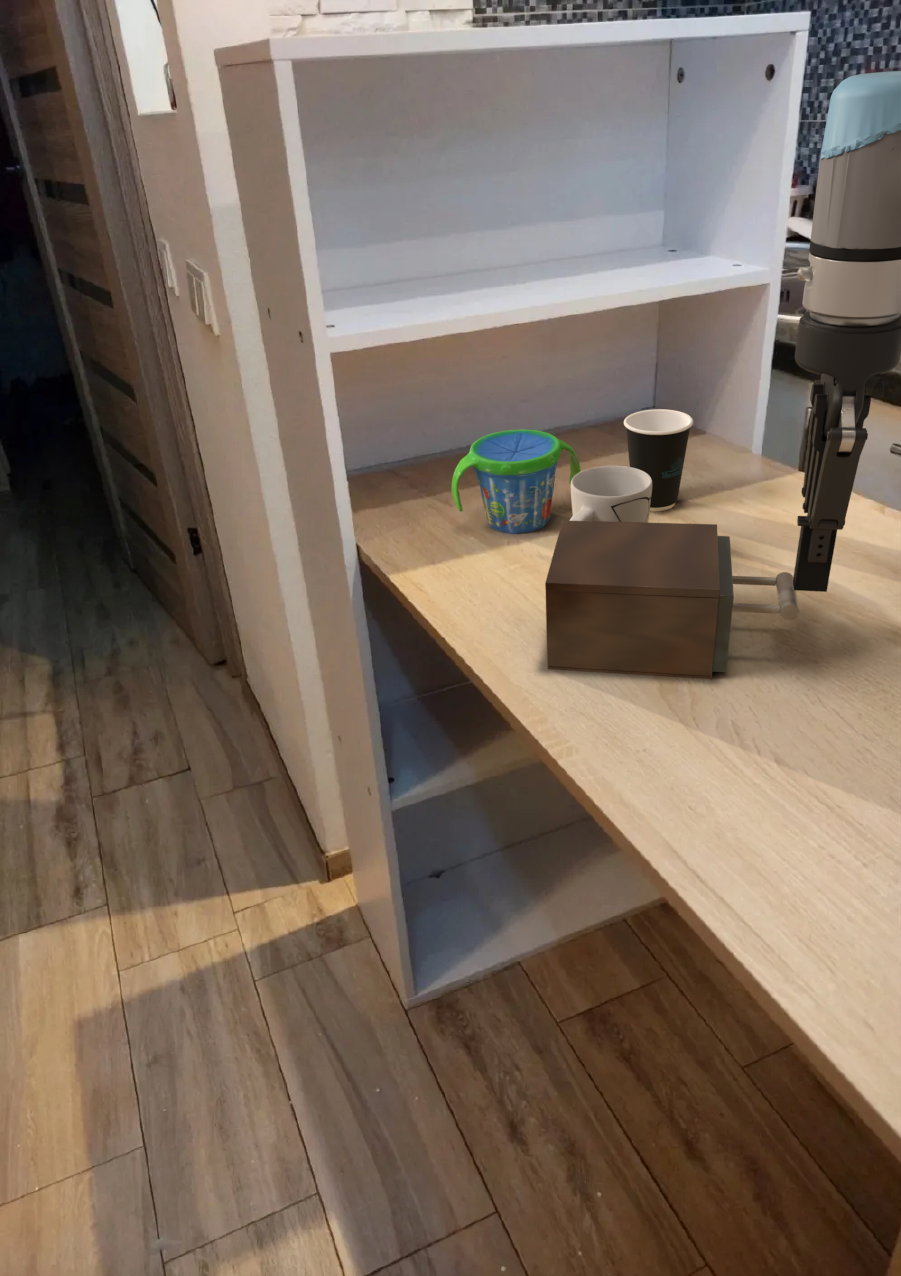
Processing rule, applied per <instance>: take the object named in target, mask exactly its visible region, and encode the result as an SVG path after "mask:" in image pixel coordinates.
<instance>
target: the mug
mask: <svg viewBox="0 0 901 1276" xmlns="http://www.w3.org/2000/svg"><path fill="white" fill-rule="evenodd" d="M651 494H652V479H651V477H650V476H649V475H648V474H647V473H645V472H644V471H642V470H639V469H636V468H632V467H630V466H626V465H601V466H600V465H599V466H595V467H594V466H593V467H589V468H587V469H583V470H581V472H579V473H578V474H576V475H575V476H574V477H573V478H572V481H571V486H570V497H571V500H570V501H571V512H572V516H571V518H570V519H569V520H568V521H604V522H643V523H649V519H650V512H651V511H650V503H651Z"/></svg>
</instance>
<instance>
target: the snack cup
mask: <svg viewBox="0 0 901 1276" xmlns="http://www.w3.org/2000/svg"><path fill="white" fill-rule="evenodd" d="M563 450H566V451H568V457H569V471H570V474H569V486H570V487H571V481H572V478H573V477H574V476H575V475H576V474H578V473H579V472H581V471H582V470H581V465H580V459H579V457H578V455H577V453H576V451H575V450H574V449H573V448H572V446H570V445H569V444H568V443H566V442H565V441H563V440H562V439H559V438H557V437H556V436H554V435H553V434H551V433H548V432H545V431H541V430H535V429H509V430H502V431H498V432H497V431H496V432H492V433H489V434H487V435H486V434H485V435H484V436H481V437H480V438H477V439H476V440H475V441H474V442H473V443H472V444H471V445H470V448H469V452H468V453H467V454H466V455H465V456H464V457H462V459H460V460H459V461H458V464H457V466H456V468H454V471H453V475H452V479H451V496H452V499H453V502H454V504H455V507H456V508H457V510H458V511H459V512H460V513H461V512H464V509H463V505H462V502H461V494H460V491H459V483H460V480H461V478H462V477H463V475H464V474H465V473H466V471H468V469H469V468H471V467H472V468H473V469H472V470H473V471H474V474H475V477H476V478H477V483H478V486H479V491H480V496H481V499H482V504H483V509H484V513H485V518H486V521H487V524H488V525H489V528H491V529H493V530H495V531H497V532H500V533H504V534H510V535H521V534H528V533H533V532H535V531H538V530H542V529H543V528H544V527H546V525H547V524H548V522H550V518H551V511H552V504H553V496H554V490H555V482H556V481H555V480H556V472H557V471H556V470H557V466H558V462H559V460H560V457H561V452H562V451H563Z"/></svg>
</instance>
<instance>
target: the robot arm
mask: <svg viewBox="0 0 901 1276" xmlns="http://www.w3.org/2000/svg"><path fill="white" fill-rule="evenodd" d="M831 93H832V94H831V96H830V99H829V106H828V111H827V116H826V123H825V128H824V129H825V130H824V133H823V139H822V143H821V144H822V146H821V149H820V158H819V164H818V171H817V173H818V174H817V180H816V188H815V189H816V190H815V198H814V207H813V215H812V224H811V231H810V232H811V234H810V241H809V247H808V250H809V251H808V252H809V254H808V262H809V264H810V265H807V266H803V267H799V269H798V270H797V274H796V275H797V276H796V278H797V280H798V281H802V282H805V283H804V288H803V296H802V302H801V303H802V307H803V308H804V310H806V312H805V313H804V314H803V315H802V316H801V317H800V318H799V320H798V328H797V336H796V342H795V343H796V344H795V352H794V360H795V363H796V364H797V366H799V367H800V368H801V369H803V370H804V371H806V372H809V373H813V374H815V375H820V380H819V379H815V380H814V381H813V383H812V385H811V390H810V396H809V400H810V404H811V412H810V419H809V426H808V440H807V450H806V458H805V467H804V477H803V485H802V487H801V496H802V498H804V502H803V503H802V510H803V513H804V514H806V515H797V519H796V524H797V527H800V530H799V537H798V545H797V550H796V557H795V563H794V564H795V565H794V571H793V587H794V590H796V591H800V592H801V591H802V592H821V593H827V592H828V587H829V581H830V575H831V569H832V564H833V557H834V551H835V546H836V538H837V534H838V531H841V530H843V529H844V527H845V525H846V517H847V514H848V513H847V512H848V509H849V504H850V500H851V497H852V496H851V495H852V492H853V488H854V483H855V479H856V475H857V471H858V466H859V463H860V459H861V455H862V453H863V450H864V447H865V444H866V441H867V440H868V437H869V434H868V429H867V428H866V427H864V423H865V420H866V419H867V418H868V417H869V414H870V409H871V404H872V403H871V401H872V396H871V395H872V394H870V393H866V391H867V385H866V381H867V380H868V379H870V378H871V377H873V376H875V375H883V374H886V373H888V372H890V371H892V370H894V369H895V368H896V367H897V366H898V364H899V363H900V360H901V70H894V71H892V70H891V71H879V72H869V73H867V72H866V73H860V74H855V75H851V76H849V77H846V78H845V79H843V80H842V81H840V83H838V85H837V86H836V87H835V88H834V90H833V91H832V92H831Z"/></svg>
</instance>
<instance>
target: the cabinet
mask: <svg viewBox="0 0 901 1276" xmlns="http://www.w3.org/2000/svg"><path fill="white" fill-rule="evenodd" d="M718 533H719V532H718V524H717V523H681V522H680V523H678V522H648V523H643V522H604V521H569V520H561V524H560V529H559V531H558V535H557V538H556V542H555V547H554V550H553V553H552V557H551V561H550V563H549V567H548V570H547V571H548V572H547V575H546V579H545V583H544V584H545V587H544V588H545V623H546V624H545V626H546V629H545V630H546V665H547V670H551V671H552V670H553V671H555V670H556V671H571V672H587V673H600V674H601V673H602V674H603V673H604V674H620V675H634V676H635V675H636V676H653V677H666V678H668V677H669V678H683V679H684V678H685V679H700V680H701V679H702V680H712V679H713V660H714V649H715V638H716V627H717V615H718V604H719V594H720V582H719V558H718V536H719V535H718Z"/></svg>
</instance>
